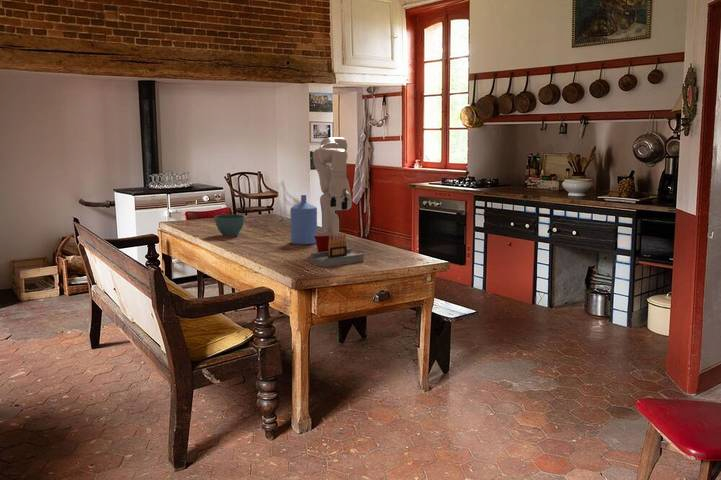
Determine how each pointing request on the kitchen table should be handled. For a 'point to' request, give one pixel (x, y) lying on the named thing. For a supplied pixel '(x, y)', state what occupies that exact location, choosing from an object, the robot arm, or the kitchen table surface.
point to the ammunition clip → (337, 246)
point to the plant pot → (229, 224)
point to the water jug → (303, 223)
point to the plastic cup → (322, 241)
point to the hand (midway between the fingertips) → (338, 208)
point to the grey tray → (335, 259)
